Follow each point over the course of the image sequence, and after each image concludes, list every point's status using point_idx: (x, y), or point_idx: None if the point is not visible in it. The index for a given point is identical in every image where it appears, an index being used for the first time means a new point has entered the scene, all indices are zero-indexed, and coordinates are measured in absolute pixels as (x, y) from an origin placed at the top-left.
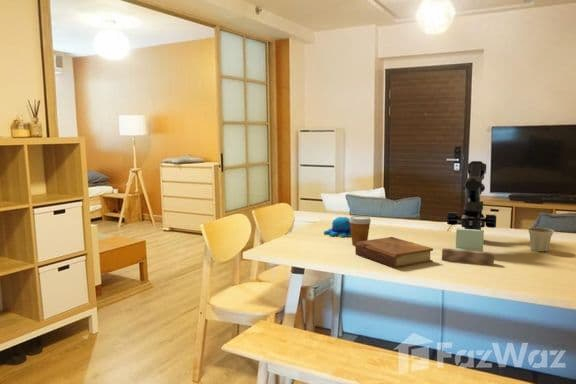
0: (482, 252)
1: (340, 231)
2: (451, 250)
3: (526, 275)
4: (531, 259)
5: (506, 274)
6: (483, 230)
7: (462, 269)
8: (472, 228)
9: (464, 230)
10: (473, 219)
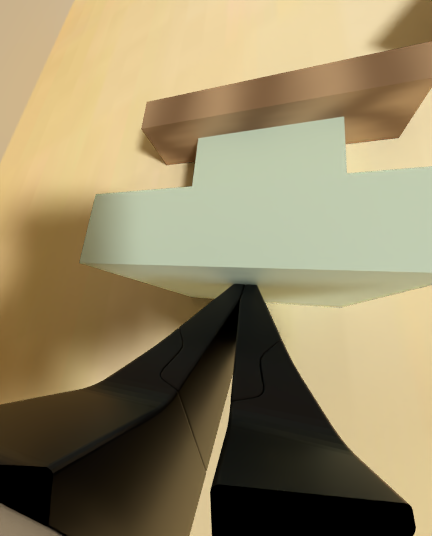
0: (191, 106)
1: None
2: (363, 58)
3: (104, 88)
4: (30, 282)
5: (151, 67)
6: (87, 240)
7: (282, 36)
8: (194, 335)
9: (309, 179)
10: (27, 462)
